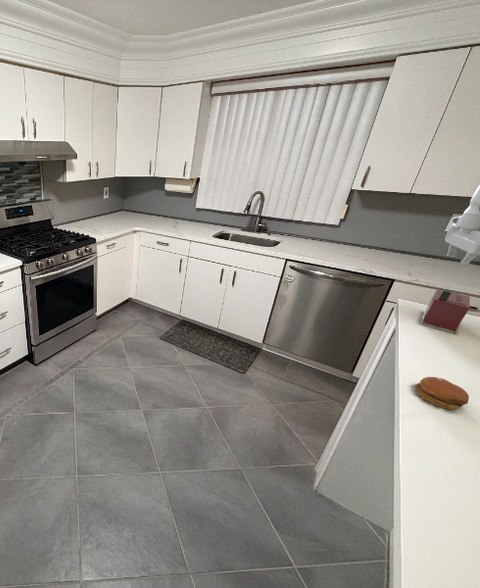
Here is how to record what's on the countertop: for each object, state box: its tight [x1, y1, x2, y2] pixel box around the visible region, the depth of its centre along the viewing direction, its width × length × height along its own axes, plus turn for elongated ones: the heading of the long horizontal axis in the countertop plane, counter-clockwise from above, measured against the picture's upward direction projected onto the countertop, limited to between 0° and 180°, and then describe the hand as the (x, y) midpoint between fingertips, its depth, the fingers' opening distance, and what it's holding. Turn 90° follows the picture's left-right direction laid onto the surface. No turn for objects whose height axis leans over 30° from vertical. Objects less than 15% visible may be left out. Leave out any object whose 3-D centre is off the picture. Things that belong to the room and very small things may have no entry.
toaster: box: [420, 288, 471, 334], centre depth 122 cm, size 15×9×11 cm, turn 131°
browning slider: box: [439, 289, 452, 300], centre depth 117 cm, size 2×2×3 cm
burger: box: [415, 376, 470, 411], centre depth 84 cm, size 10×9×5 cm
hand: (456, 260), depth 115 cm, fingers open, 8 cm apart
